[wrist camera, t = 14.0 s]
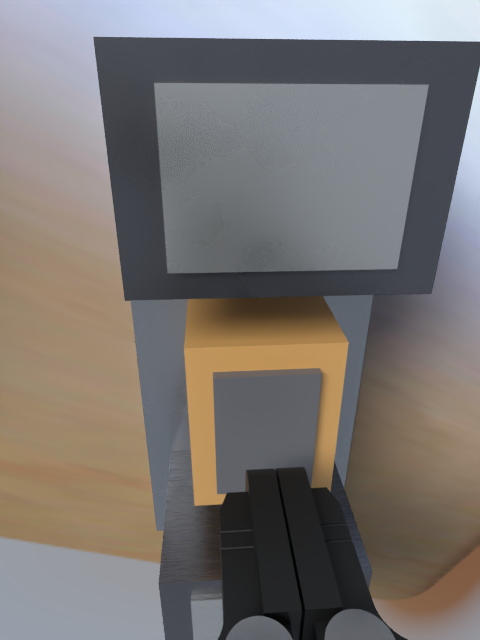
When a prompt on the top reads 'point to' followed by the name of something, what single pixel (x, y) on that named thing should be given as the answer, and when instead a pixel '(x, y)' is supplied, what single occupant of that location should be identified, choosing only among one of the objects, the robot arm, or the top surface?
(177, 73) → the rail plate
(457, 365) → the top surface
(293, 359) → the orange module
